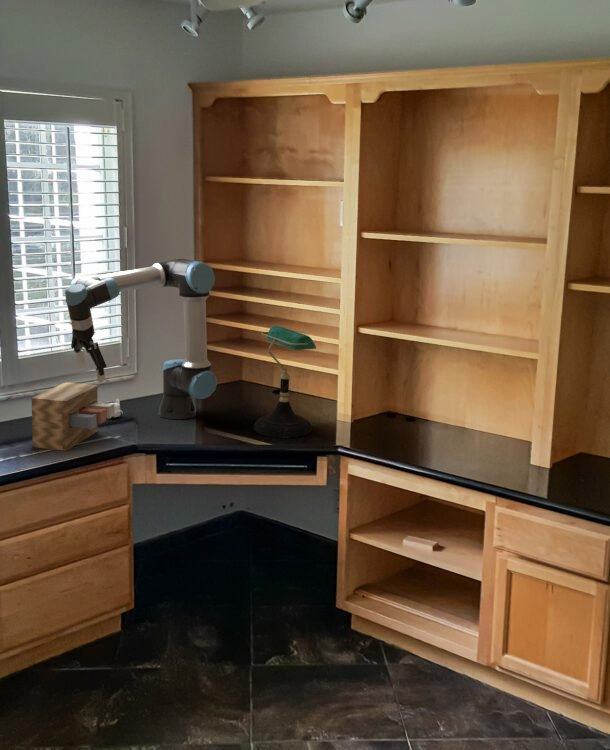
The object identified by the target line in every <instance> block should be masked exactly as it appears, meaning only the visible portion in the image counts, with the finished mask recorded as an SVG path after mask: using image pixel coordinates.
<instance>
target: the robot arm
mask: <svg viewBox="0 0 610 750" xmlns="http://www.w3.org/2000/svg"><path fill="white" fill-rule="evenodd" d="M215 282H216V277H215V272H214V270H213V269H212V267H211V266H210V265H208V263H205V262H203V261H200V260H193V259H186V258H175V259H170V260H169V259H168V260H166V261H160V262H156V263H154V264H153V265H151V266H147V267H140V268H134V269H129V270H123V271H122V270H121V271H117V272H112V273H105V274H98V275H93V276H77V277H75V278H73V280H72V281H71V283H70V285H69V286H68V287H66V288H65V291H64V294H65V295H64V297H65V303H66V305H67V310H68V314H69V318H70V319H69V320H70V322H69V324H70V325H71V327H72V328H71V329H72V331H71V334H72V337H71V344H70V348H71V349H73V351H74V352H75V355H76V356H75V357H76V362H77V365H78V368H81V367H84V366H86V365H87V363H86V359H85V355H84V350H83V349H85V351H86V353H87V354H89V356H90V357H91V359H92V361H93V363H94V365H95V372H96V377H97V381H98V383H99V384H101V383H103V382H105V381H106V375H105V368H107V363H106V361H105V359H104V357H103V355H102V351H101V349H100V346H99V343H98V342H94V340H93V336H94V335H95V333H96V332H95V327H94V322H93V321H94V320H93V317H92V309H94V308H96V307H98V306H100V305H102V304H105V303H107V302H110V301H112V300H114V299H115V298H117V297H119V295H120V293H122V292H128V291H133V290H139V289H144V288H151V287H157V288H165V287H170V288H177V289H178V292H179V294H178V295H179V297H180V298H181V299H182V301H183V325H184V326H183V327H184V329H183V330H184V359H183V358H181V359H179V358H178V359H171V360H165V361H164V363H163V367H162V374H163V376H162V377H163V381H162V383H163V385H162V387H163V391H162V399H161V402H160V403H159V404H160V405H159V407H158V416H160V417H161V418H163V419H167V420H168V419H171V420H185V419H191V418H194V417H196V412H197V410H196V406H195V402H194V400H193V399H199V400H204V399H207V398H209V397H211V395H212V394H213V393H214V392H215V391H216V388H217V385H218V379H217V376H216V375H215V373H214V372H213V371H212V363H211V362H210V361H209V360H208V344H207V341H208V339H207V302H206V300H207V299H208V298H209V297H210V292H211V290H213V289H212V288H213V287H214V285H215Z"/></svg>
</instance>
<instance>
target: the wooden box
mask: <svg viewBox="0 0 610 750" xmlns="http://www.w3.org/2000/svg"><path fill="white" fill-rule="evenodd" d="M90 403H99V402H98V385H97V384H90V383H89V384H87V383H78V382H77V383H76V382H67V381H66V382H62V383H61V384H59V385H56V386H54V387H51V388H50V389H48V390H45V391H44V392H42V393H39V394H37V395H35V396H32V397H31V429H32V430H31V433H32V435H31V436H32V448H38V449H48V450H57V451H65V452H66V451H69V450H70V449H72V448H73V447H75V446H77V445H78V444H80V443H82V442H83V441H85V440H86V439H88V438H90V437H92V435H94V434H95V433H97V432H98V431H99V425H98V424H99V423H98V422H96V427H94V428H93V429H89V428H82V427H72V426H70V420H69V415H70V414H72V413H77V414H79V409H81V408H89V404H90Z"/></svg>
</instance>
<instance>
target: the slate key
mask: <svg viewBox="0 0 610 750" xmlns="http://www.w3.org/2000/svg"><path fill="white" fill-rule="evenodd" d="M69 420H70V426H72V427H82V428H89V429H93V428H94V427H96V414H93V415H87V414H77V413H72V414H70V415H69Z"/></svg>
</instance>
